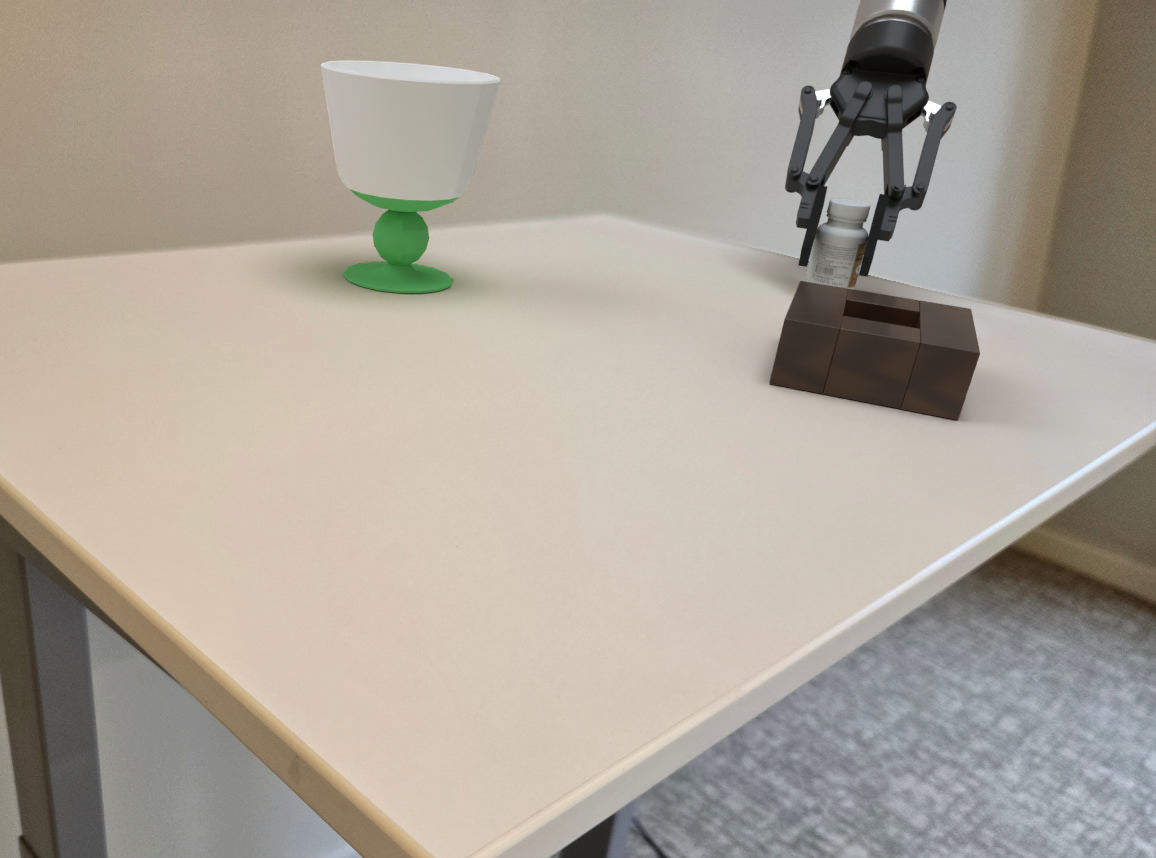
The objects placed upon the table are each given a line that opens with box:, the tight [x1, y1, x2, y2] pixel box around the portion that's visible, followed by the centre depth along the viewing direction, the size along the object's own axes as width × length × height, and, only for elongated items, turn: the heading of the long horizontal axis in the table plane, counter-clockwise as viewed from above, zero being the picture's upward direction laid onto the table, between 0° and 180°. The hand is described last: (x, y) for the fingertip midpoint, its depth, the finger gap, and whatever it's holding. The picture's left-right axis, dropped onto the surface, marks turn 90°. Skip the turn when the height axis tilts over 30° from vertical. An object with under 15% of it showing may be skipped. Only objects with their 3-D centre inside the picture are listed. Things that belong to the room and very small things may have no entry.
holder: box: [768, 280, 981, 421], centre depth 74 cm, size 12×12×4 cm
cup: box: [319, 59, 502, 294], centre depth 85 cm, size 14×14×16 cm
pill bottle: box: [804, 197, 871, 290], centre depth 96 cm, size 4×4×8 cm
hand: (834, 261), depth 93 cm, fingers closed on pill bottle, 4 cm apart
